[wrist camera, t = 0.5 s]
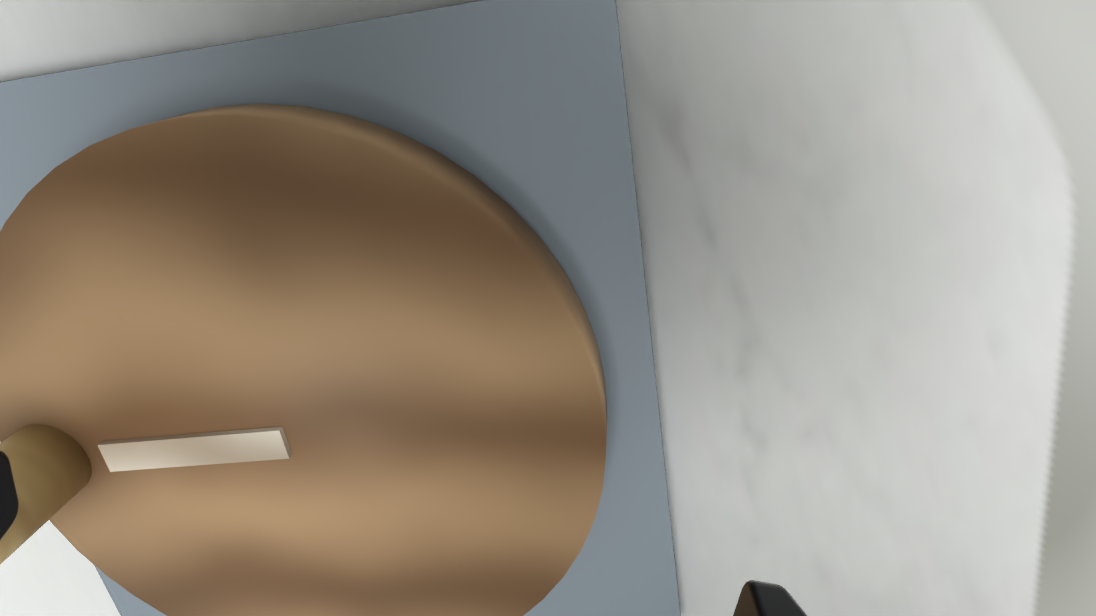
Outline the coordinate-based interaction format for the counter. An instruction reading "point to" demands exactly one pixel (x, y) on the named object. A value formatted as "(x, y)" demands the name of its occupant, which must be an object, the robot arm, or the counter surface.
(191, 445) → the cam dial
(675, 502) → the counter surface
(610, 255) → the base plate
